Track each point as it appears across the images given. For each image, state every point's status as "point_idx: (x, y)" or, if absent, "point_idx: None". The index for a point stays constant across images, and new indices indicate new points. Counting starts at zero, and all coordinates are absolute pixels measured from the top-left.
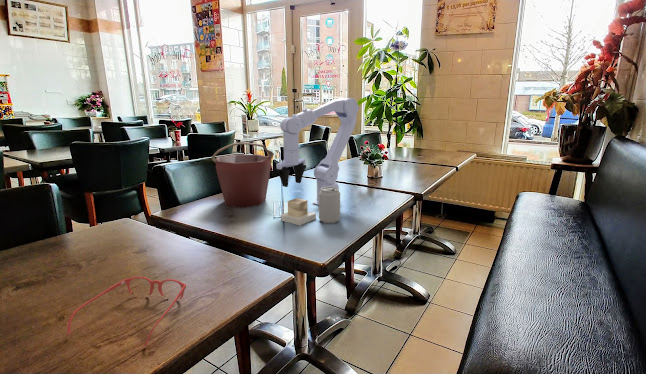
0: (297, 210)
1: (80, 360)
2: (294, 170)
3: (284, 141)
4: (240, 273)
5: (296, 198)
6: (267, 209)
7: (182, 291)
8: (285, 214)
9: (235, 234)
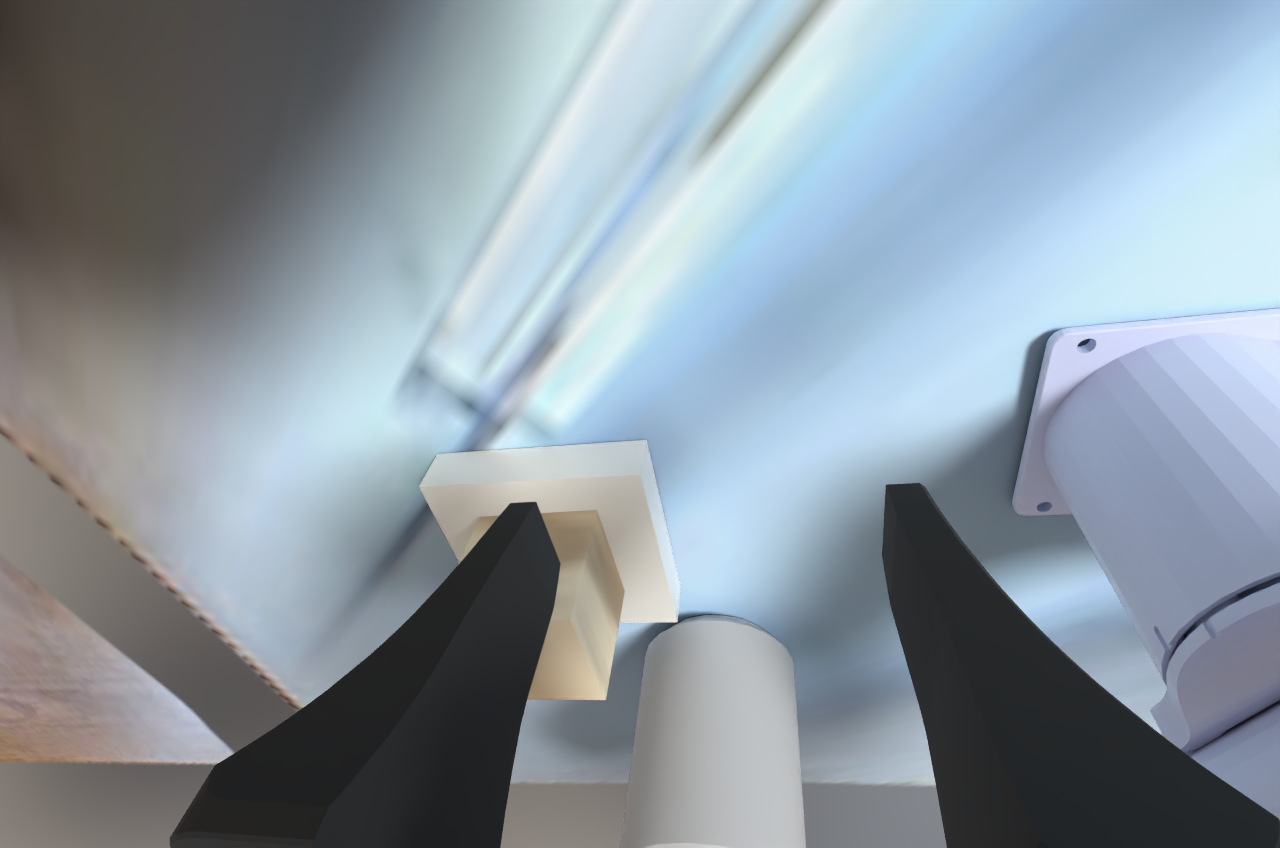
0: None
1: None
2: (970, 707)
3: None
4: (94, 687)
5: (557, 625)
6: (465, 91)
7: None
8: (461, 504)
9: (54, 441)
